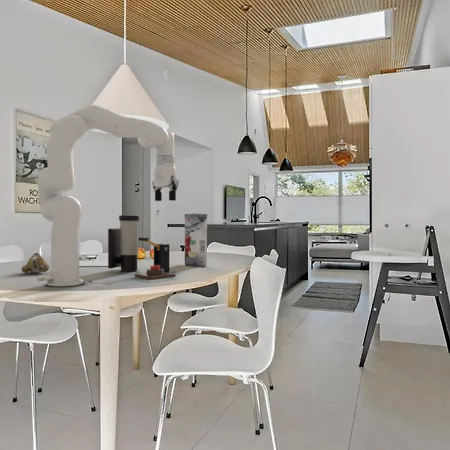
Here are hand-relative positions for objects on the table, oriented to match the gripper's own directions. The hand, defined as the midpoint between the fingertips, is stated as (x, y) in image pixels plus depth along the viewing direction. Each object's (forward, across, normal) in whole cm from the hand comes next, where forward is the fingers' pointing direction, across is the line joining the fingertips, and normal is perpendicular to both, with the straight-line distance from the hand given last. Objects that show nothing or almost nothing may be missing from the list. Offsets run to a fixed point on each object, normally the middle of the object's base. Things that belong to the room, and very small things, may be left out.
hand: (165, 200), depth 187 cm
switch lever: (+19, +4, -10) cm, 22 cm away
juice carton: (+31, -9, +26) cm, 42 cm away
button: (+28, +13, -15) cm, 34 cm away
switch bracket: (+31, +4, -5) cm, 32 cm away
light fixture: (+31, -10, -13) cm, 35 cm away
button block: (+31, +13, -15) cm, 37 cm away
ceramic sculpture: (+31, -37, -40) cm, 63 cm away
